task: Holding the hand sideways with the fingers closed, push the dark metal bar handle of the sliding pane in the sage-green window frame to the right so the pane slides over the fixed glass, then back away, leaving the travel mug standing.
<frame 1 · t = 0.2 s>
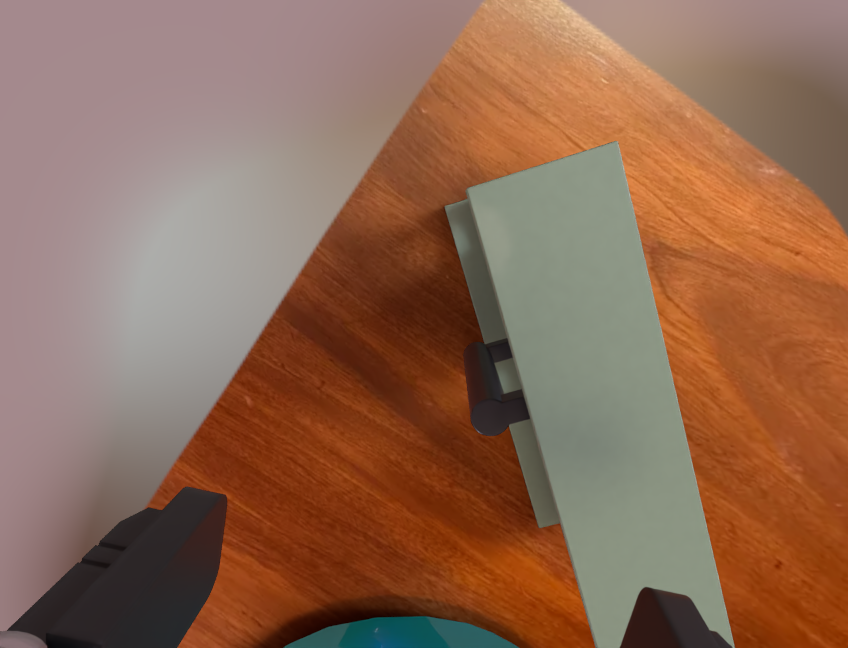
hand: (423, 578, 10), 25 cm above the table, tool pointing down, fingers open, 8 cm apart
sash: (503, 330, 26), point 9 cm above the table, slide at 0.0 cm
window frame: (540, 358, 35), on the table
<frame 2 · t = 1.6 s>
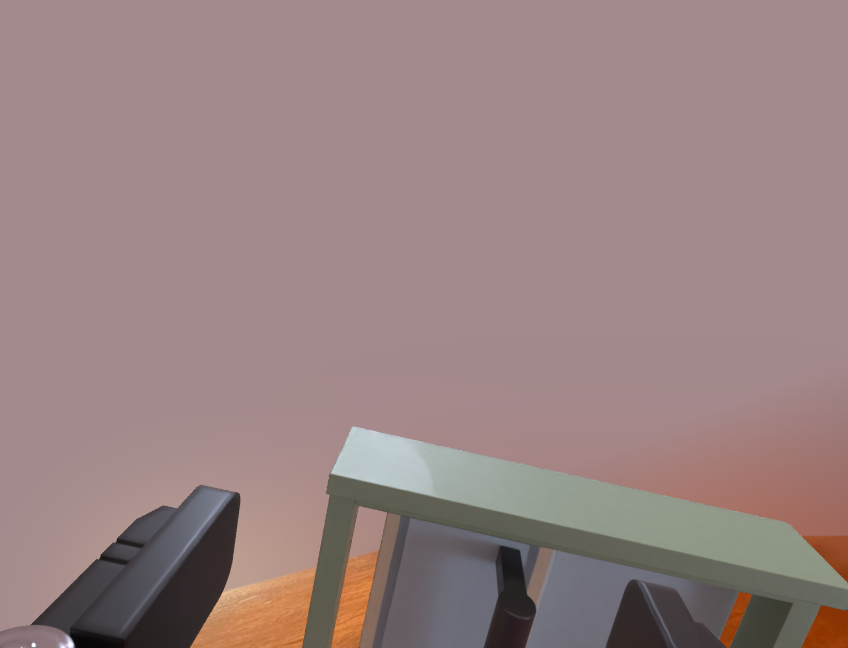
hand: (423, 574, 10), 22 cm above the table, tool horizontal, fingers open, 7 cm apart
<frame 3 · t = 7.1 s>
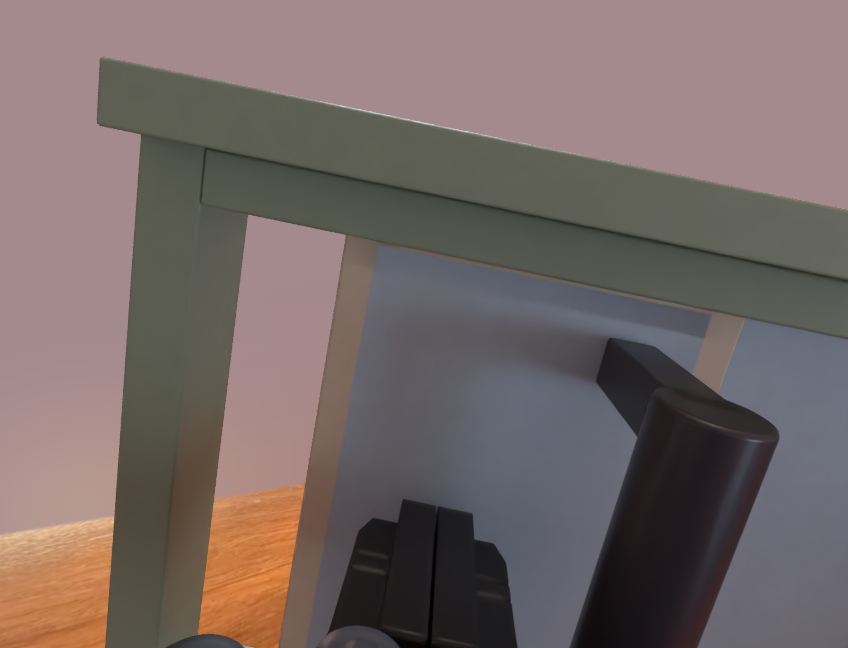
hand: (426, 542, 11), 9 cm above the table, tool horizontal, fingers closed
sash: (476, 617, 10), point 8 cm above the table, slide at 1.0 cm, touching gripper
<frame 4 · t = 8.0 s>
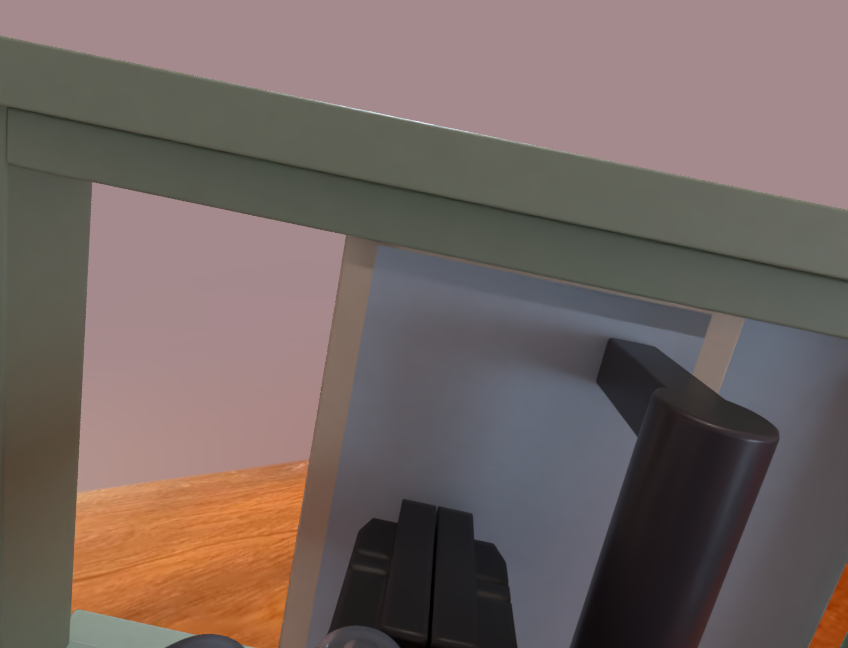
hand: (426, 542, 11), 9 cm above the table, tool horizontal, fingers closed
sash: (476, 617, 10), point 8 cm above the table, slide at 4.6 cm, touching gripper
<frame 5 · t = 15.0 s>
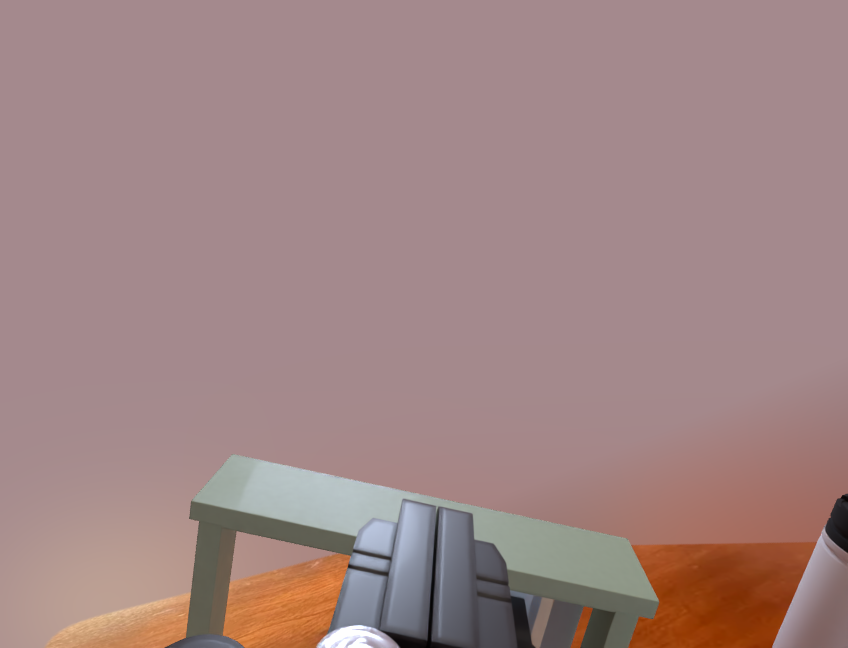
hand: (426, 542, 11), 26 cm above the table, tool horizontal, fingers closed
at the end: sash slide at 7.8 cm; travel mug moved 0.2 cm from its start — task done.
